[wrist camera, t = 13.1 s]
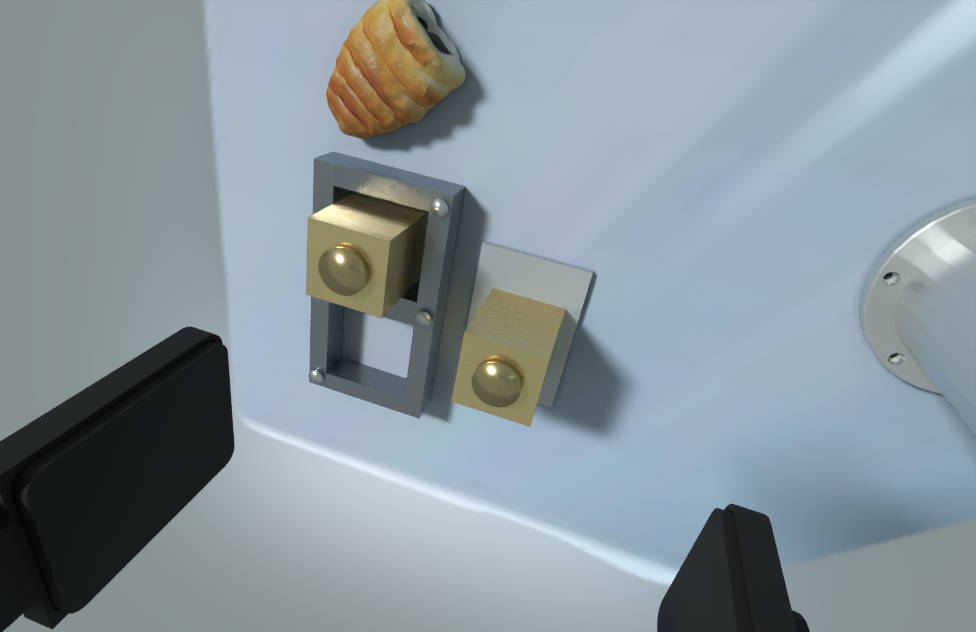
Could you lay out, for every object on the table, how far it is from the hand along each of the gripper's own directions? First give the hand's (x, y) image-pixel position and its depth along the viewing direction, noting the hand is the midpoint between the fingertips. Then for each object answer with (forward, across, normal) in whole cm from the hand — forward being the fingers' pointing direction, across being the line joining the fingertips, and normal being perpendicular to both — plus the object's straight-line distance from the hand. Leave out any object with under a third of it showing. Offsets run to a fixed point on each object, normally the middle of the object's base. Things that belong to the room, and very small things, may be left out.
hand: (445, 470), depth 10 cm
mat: (+28, +2, +13) cm, 31 cm away
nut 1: (+28, +13, +8) cm, 32 cm away
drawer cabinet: (+28, +13, +13) cm, 34 cm away
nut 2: (+28, +2, +13) cm, 31 cm away
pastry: (+29, +13, -3) cm, 32 cm away
